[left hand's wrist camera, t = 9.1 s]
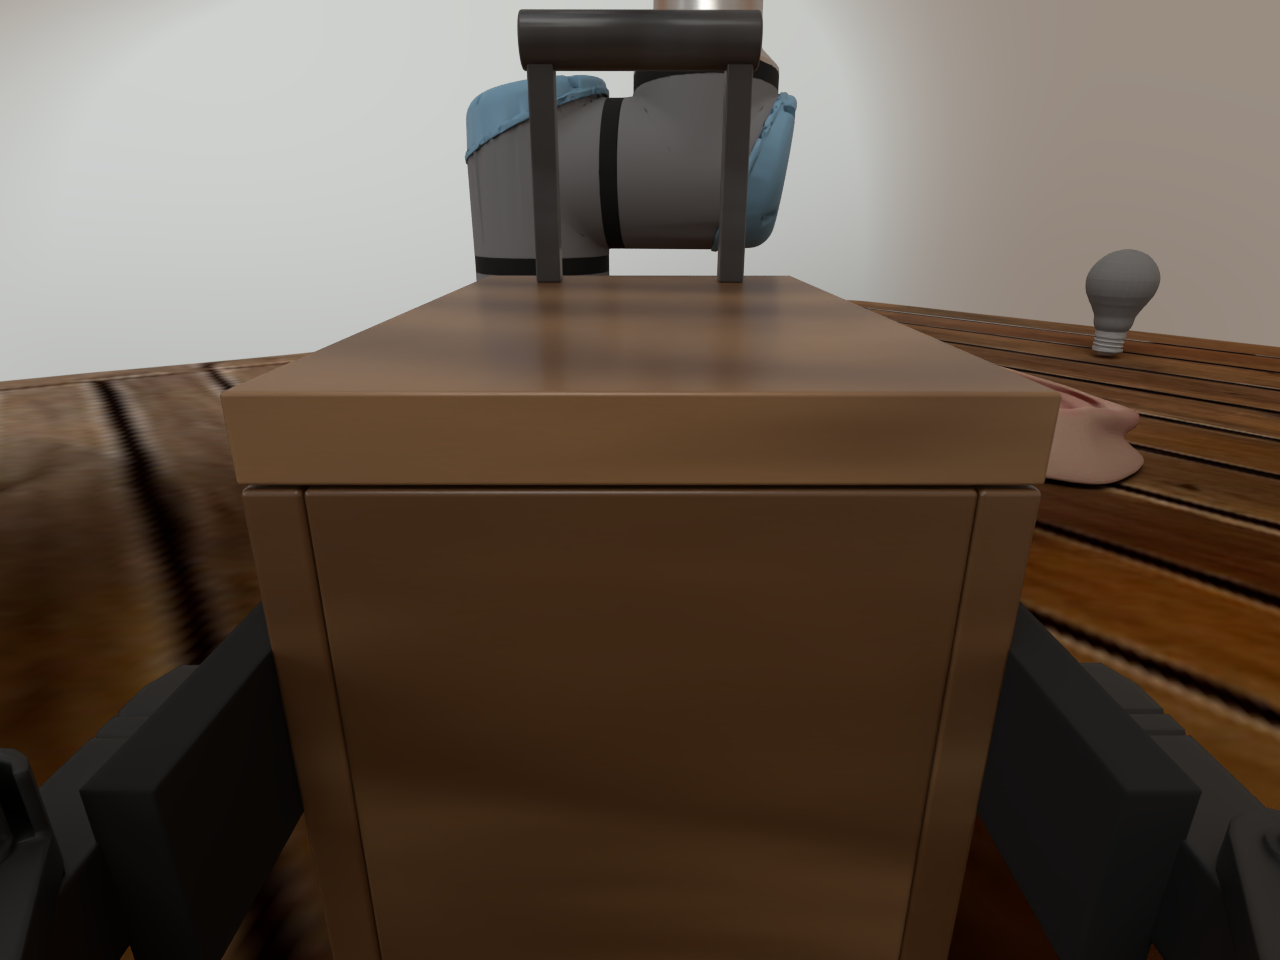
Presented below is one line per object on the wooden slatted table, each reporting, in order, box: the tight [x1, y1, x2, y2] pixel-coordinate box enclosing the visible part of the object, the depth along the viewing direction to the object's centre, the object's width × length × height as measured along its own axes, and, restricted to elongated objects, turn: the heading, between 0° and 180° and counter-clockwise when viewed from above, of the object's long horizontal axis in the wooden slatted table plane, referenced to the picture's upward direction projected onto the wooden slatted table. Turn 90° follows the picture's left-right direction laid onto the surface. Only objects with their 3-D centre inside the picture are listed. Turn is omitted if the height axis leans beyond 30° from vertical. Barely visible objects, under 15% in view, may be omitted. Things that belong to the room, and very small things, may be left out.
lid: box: [220, 9, 1062, 485], centre depth 15 cm, size 16×10×8 cm, turn 0°
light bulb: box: [1086, 249, 1160, 356], centre depth 71 cm, size 6×6×10 cm
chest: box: [241, 485, 1041, 960], centre depth 18 cm, size 15×10×11 cm, turn 0°
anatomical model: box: [1000, 366, 1144, 485], centre depth 44 cm, size 13×4×12 cm
